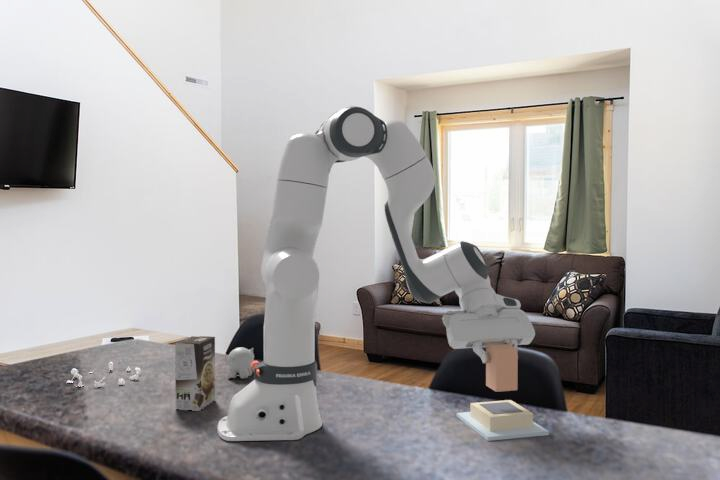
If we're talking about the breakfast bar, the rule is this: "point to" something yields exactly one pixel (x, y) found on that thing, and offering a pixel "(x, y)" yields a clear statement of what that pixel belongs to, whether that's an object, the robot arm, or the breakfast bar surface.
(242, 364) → the chubby cartoon animal
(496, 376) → the pillar block
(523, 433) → the base
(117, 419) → the breakfast bar surface
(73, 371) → the game piece set
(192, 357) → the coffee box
